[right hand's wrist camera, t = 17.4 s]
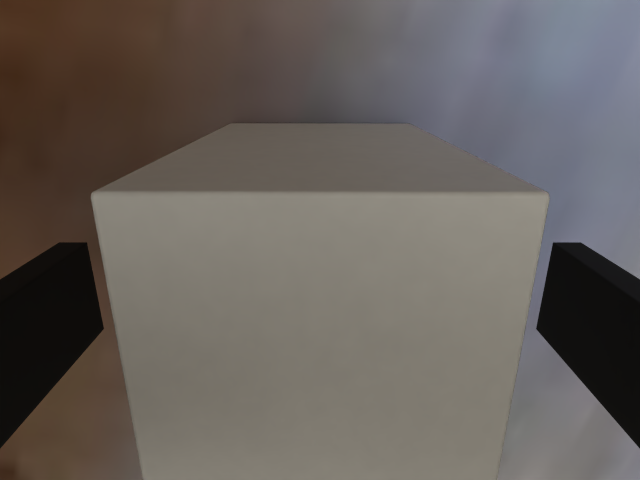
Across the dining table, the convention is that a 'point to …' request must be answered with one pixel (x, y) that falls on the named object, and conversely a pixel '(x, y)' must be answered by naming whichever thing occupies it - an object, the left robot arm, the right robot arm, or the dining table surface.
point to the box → (320, 303)
